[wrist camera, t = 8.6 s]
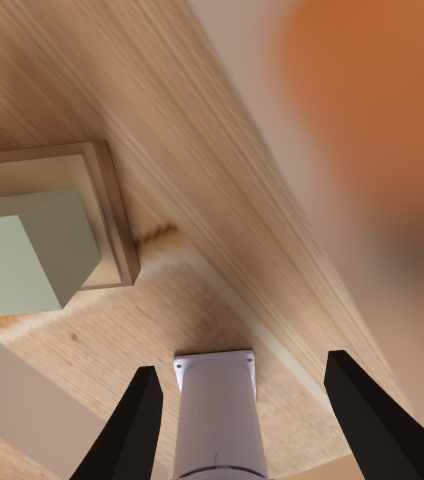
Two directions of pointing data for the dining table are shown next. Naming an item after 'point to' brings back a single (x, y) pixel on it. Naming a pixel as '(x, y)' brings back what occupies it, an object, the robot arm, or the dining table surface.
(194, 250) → the dining table surface
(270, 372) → the dining table surface
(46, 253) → the sage block
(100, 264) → the plinth
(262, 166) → the dining table surface
